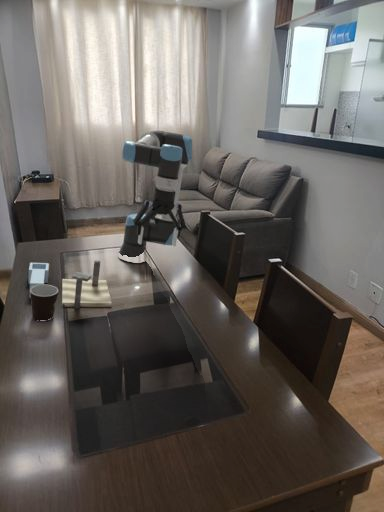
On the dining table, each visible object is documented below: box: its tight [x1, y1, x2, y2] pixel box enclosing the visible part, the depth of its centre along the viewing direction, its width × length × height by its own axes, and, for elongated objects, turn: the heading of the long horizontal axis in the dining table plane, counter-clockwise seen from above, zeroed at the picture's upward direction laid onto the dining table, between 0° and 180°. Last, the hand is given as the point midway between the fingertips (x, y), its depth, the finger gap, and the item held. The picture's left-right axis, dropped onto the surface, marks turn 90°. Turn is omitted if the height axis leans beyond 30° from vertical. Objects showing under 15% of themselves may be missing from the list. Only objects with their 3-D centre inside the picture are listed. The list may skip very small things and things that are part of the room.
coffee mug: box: [29, 284, 59, 322], centre depth 121 cm, size 12×9×10 cm
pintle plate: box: [61, 259, 113, 310], centre depth 139 cm, size 22×18×12 cm
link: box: [27, 262, 50, 299], centre depth 139 cm, size 19×7×6 cm, turn 18°
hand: (156, 244), depth 137 cm, fingers open, 13 cm apart
